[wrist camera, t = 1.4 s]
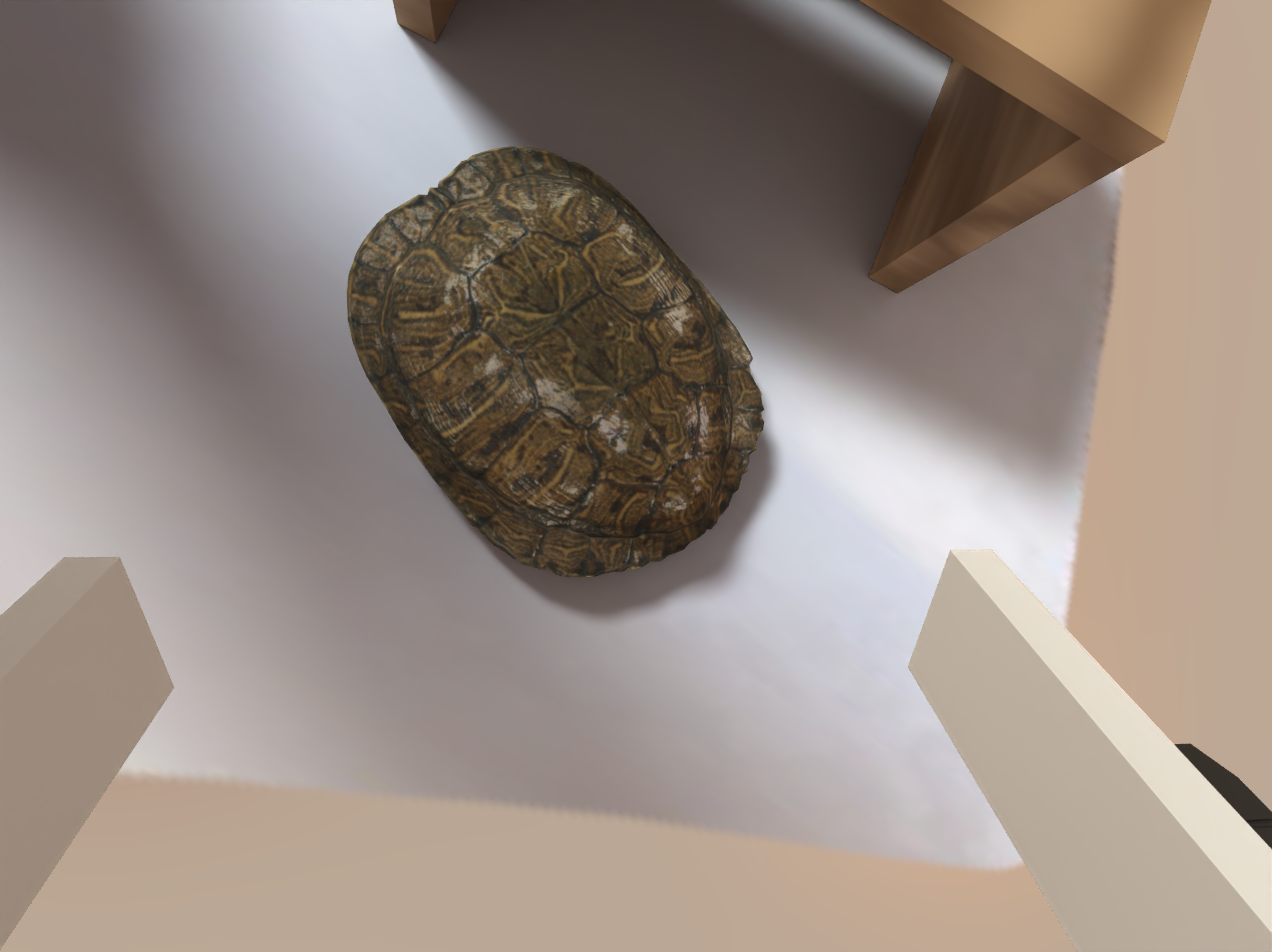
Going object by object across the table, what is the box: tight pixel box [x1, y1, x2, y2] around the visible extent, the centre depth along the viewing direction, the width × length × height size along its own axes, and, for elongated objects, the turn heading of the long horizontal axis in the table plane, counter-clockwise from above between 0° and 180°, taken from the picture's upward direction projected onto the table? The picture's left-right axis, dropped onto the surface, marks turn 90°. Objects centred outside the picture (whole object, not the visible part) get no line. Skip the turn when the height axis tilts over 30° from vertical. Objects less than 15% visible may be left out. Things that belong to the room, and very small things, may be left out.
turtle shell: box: [347, 146, 764, 577], centre depth 30 cm, size 16×9×20 cm
